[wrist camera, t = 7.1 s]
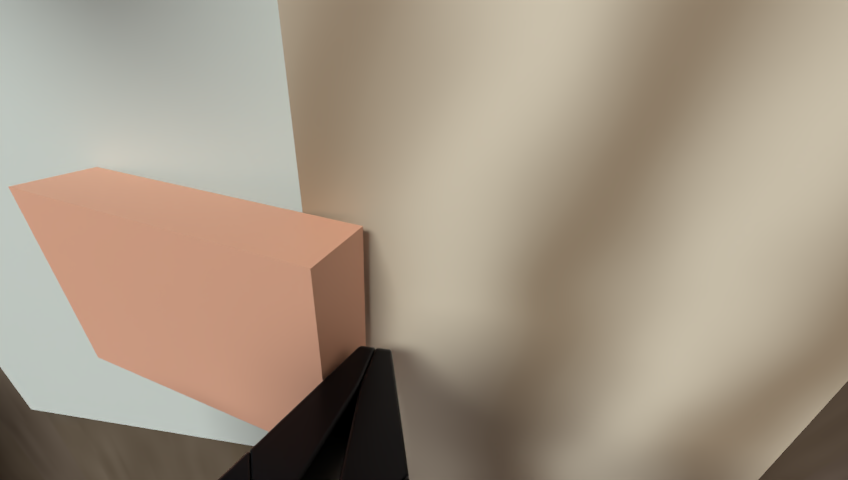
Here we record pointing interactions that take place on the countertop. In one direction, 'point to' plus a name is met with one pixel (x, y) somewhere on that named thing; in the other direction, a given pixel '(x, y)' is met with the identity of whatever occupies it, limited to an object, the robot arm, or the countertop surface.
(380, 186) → the plate
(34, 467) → the countertop surface
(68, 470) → the countertop surface
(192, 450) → the countertop surface
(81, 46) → the mat
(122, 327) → the tile
